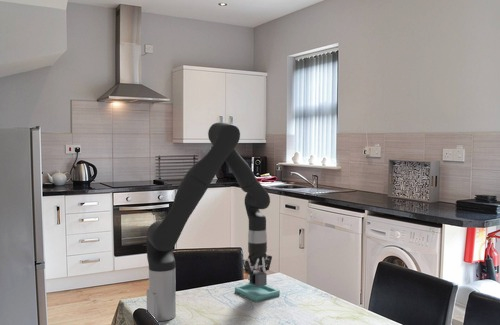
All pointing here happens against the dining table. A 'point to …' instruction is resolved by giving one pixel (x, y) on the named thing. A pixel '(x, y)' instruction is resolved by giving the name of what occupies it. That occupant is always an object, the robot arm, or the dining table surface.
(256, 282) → the plug
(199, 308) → the dining table surface
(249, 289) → the tray
